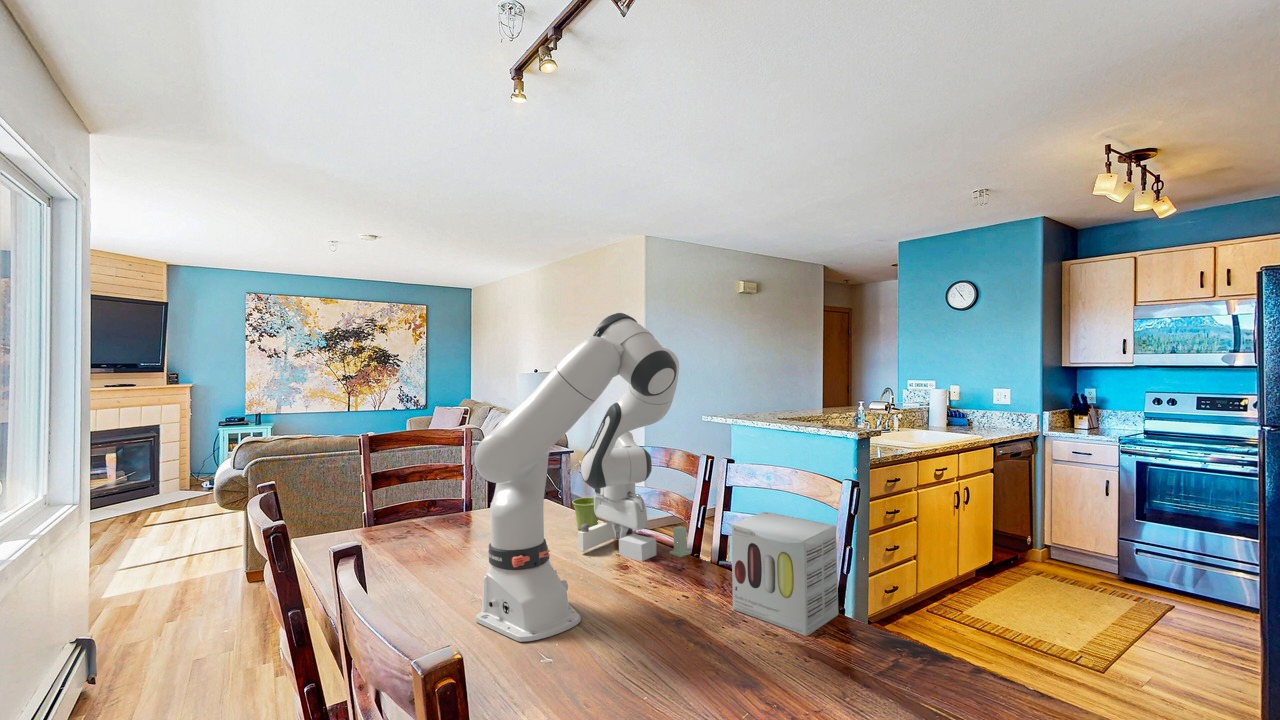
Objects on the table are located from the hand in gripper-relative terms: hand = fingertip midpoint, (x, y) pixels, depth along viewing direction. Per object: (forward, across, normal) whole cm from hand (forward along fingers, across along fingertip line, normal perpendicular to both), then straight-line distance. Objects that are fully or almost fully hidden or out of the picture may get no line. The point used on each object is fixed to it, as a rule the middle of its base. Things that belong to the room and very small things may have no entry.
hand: (620, 539), depth 162 cm
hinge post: (+3, +8, -9) cm, 13 cm away
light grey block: (+3, -7, 0) cm, 8 cm away
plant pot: (+3, +23, -4) cm, 23 cm away
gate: (+1, +5, +2) cm, 6 cm away
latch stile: (+2, -14, -9) cm, 17 cm away
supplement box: (+3, -55, 0) cm, 55 cm away
